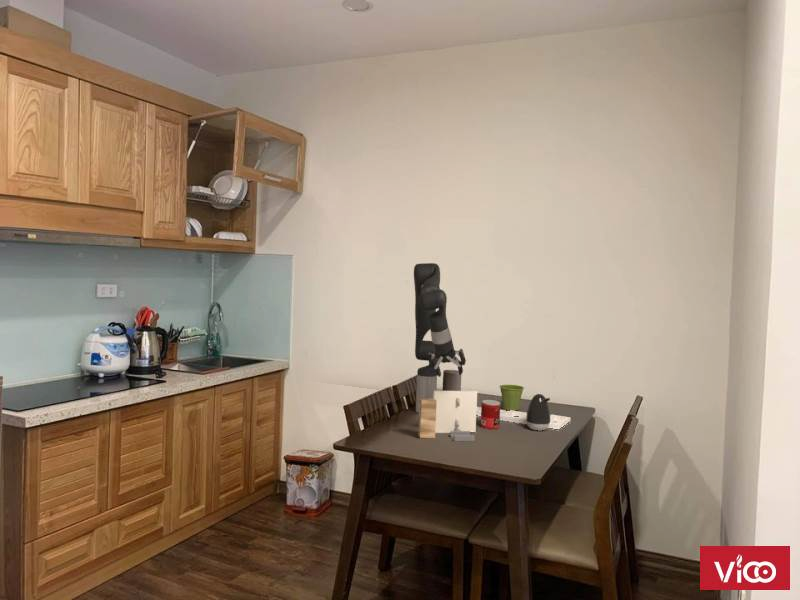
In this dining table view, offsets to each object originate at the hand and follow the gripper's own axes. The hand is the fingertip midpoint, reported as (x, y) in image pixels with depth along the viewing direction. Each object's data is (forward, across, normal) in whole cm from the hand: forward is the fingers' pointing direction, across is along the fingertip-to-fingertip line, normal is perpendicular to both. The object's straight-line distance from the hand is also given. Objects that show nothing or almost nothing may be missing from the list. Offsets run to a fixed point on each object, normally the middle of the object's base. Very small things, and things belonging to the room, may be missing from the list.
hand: (450, 374), depth 244 cm
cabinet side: (+24, +1, +7) cm, 25 cm away
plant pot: (+49, -12, -47) cm, 69 cm away
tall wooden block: (+20, +12, +13) cm, 26 cm away
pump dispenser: (+39, -28, -16) cm, 50 cm away
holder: (+44, -16, -32) cm, 57 cm away
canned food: (+34, -8, -12) cm, 37 cm away
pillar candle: (+50, +21, -63) cm, 83 cm away
